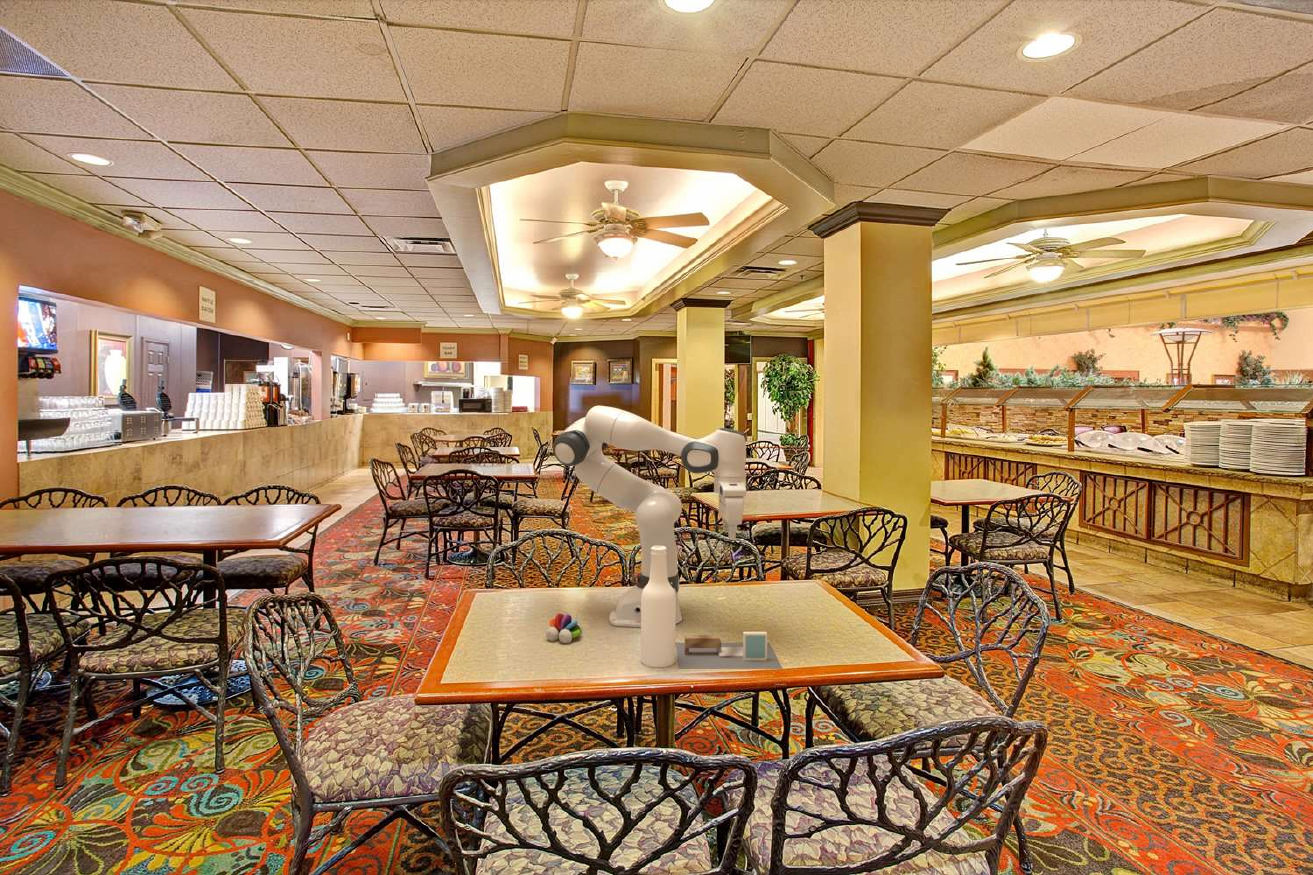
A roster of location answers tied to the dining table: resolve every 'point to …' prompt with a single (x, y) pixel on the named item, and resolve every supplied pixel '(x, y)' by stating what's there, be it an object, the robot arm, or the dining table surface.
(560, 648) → the dining table surface
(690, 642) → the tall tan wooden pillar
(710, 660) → the mat
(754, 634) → the tile
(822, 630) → the dining table surface
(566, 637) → the multicoloured ball cluster
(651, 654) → the alcohol
